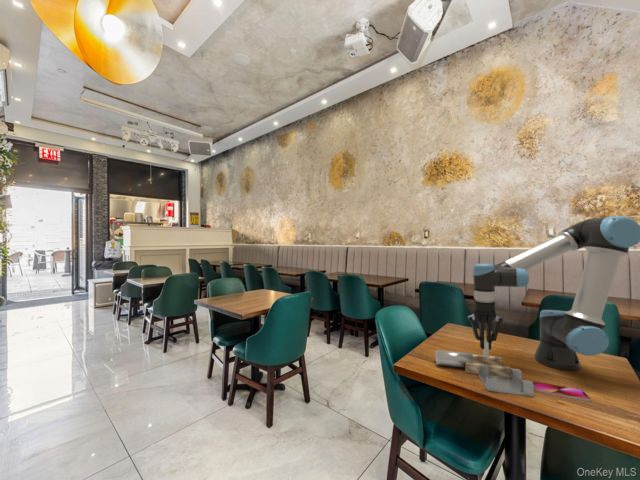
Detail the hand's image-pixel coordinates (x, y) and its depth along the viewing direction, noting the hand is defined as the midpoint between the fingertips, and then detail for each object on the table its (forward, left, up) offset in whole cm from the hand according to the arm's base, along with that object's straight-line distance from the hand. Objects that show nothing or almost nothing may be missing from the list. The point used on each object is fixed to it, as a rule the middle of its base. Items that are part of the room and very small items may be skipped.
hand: (485, 356), depth 115 cm
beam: (+1, 0, -5) cm, 5 cm away
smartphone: (-20, +12, -6) cm, 24 cm away
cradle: (-2, +13, -5) cm, 14 cm away
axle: (+12, 0, -5) cm, 13 cm away
